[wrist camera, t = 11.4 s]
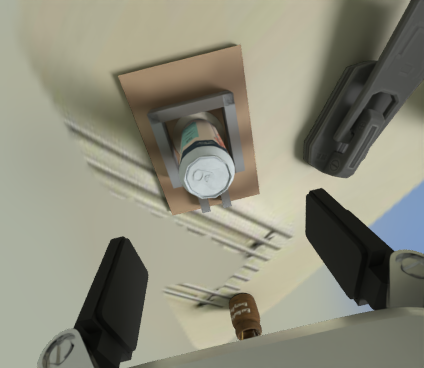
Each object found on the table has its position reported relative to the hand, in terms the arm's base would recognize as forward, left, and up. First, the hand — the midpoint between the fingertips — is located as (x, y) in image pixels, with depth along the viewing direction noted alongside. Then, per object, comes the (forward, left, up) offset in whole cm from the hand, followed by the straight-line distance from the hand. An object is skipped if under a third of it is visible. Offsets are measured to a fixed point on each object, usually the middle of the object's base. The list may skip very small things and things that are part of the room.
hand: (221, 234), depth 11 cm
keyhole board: (+1, 0, -20) cm, 20 cm away
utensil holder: (+39, 0, -20) cm, 44 cm away
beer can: (0, 0, -19) cm, 19 cm away
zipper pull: (-1, +23, -20) cm, 30 cm away
